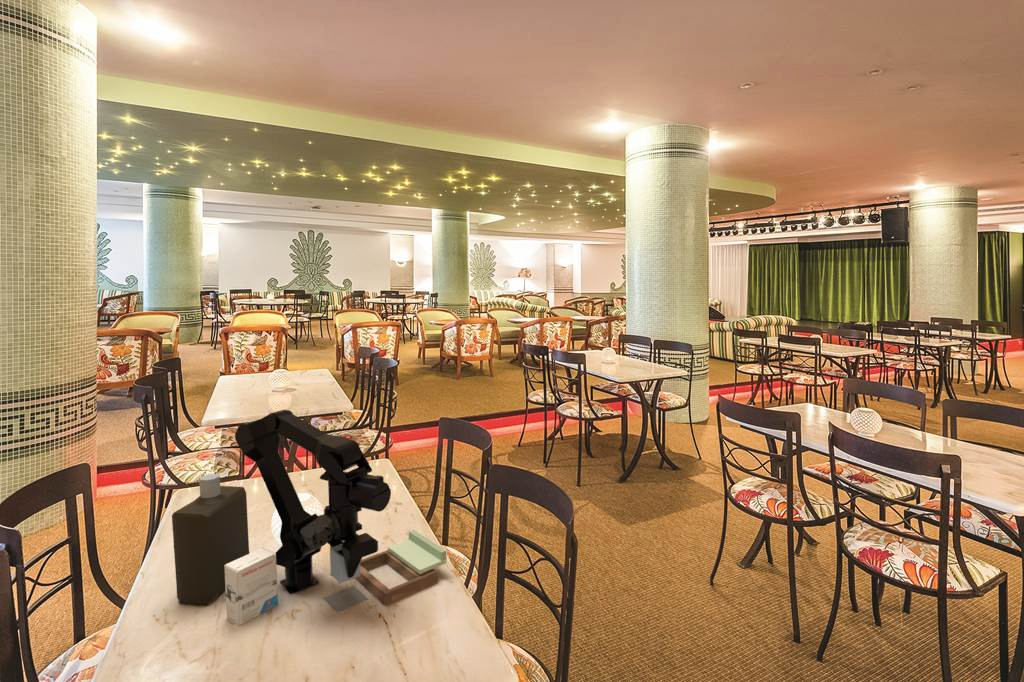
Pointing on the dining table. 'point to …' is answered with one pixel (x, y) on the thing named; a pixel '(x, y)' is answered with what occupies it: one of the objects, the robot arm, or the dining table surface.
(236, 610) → the ink box
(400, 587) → the brown hollow rectangular piece
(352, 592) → the mat
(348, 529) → the robot arm
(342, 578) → the block
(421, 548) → the cover
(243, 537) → the bottle
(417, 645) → the dining table surface
